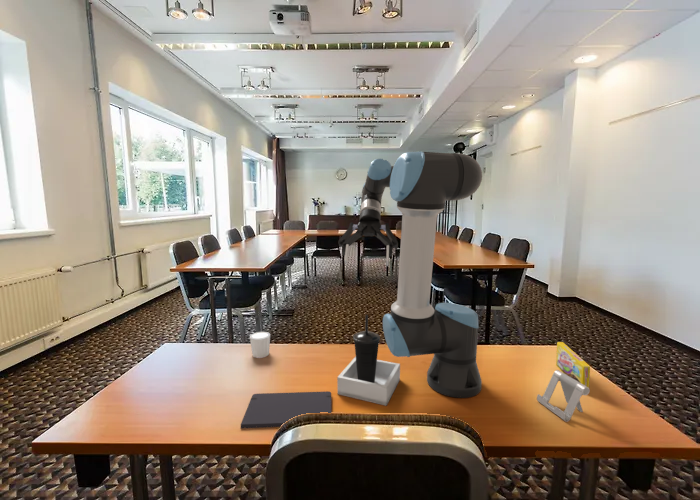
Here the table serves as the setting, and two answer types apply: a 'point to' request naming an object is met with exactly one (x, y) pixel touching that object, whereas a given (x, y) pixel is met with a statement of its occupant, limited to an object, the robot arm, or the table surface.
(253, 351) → the white tapered cylinder
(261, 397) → the notebook
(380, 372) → the cup tray
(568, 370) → the candy box
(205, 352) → the table surface
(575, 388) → the portable electronic device stand
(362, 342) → the drinking cup
